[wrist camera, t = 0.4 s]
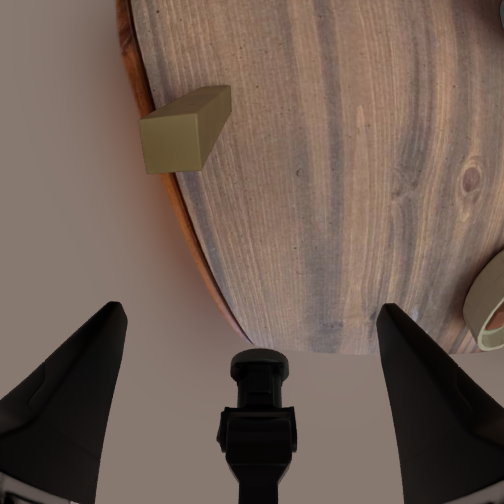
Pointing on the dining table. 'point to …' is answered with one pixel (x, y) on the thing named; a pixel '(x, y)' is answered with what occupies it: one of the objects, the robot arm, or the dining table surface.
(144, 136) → the stirring stick
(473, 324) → the bowl
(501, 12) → the cup
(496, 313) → the terracotta block
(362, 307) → the dining table surface
